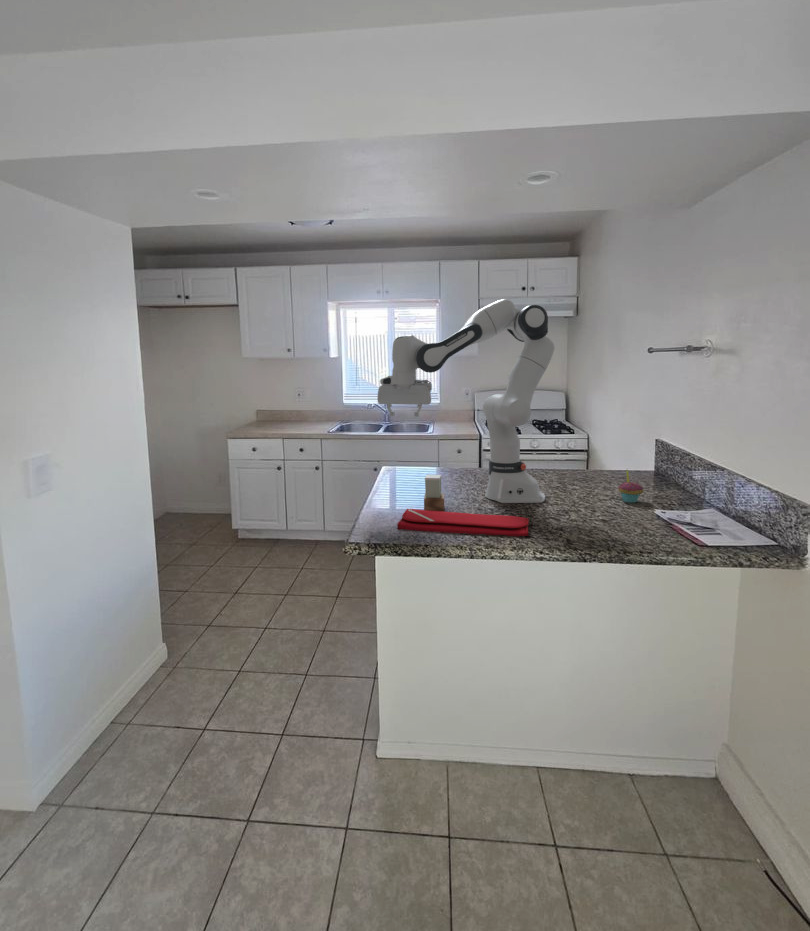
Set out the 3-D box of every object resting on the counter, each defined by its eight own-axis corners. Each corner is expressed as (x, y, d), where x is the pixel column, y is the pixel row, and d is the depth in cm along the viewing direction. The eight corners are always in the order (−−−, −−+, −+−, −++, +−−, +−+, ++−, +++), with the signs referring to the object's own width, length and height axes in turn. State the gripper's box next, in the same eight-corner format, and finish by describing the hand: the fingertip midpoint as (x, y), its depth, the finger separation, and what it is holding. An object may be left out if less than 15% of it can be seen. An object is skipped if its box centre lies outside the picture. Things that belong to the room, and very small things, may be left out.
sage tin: (441, 493, 200) (441, 474, 199) (439, 497, 195) (439, 478, 194) (427, 493, 201) (427, 474, 200) (425, 497, 196) (424, 477, 195)
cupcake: (614, 501, 205) (616, 469, 202) (623, 496, 211) (625, 465, 209) (637, 505, 199) (640, 473, 197) (646, 500, 205) (648, 468, 203)
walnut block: (444, 506, 202) (444, 493, 201) (443, 512, 195) (443, 498, 194) (425, 506, 203) (425, 493, 202) (424, 512, 196) (424, 498, 195)
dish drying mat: (528, 539, 168) (528, 527, 167) (396, 531, 177) (396, 520, 176) (528, 523, 183) (529, 512, 182) (407, 516, 192) (407, 506, 191)
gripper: (433, 379, 208) (432, 416, 211) (380, 378, 212) (380, 415, 215) (430, 380, 202) (430, 417, 205) (376, 379, 206) (376, 416, 209)
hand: (404, 416), depth 210 cm, fingers open, 8 cm apart
